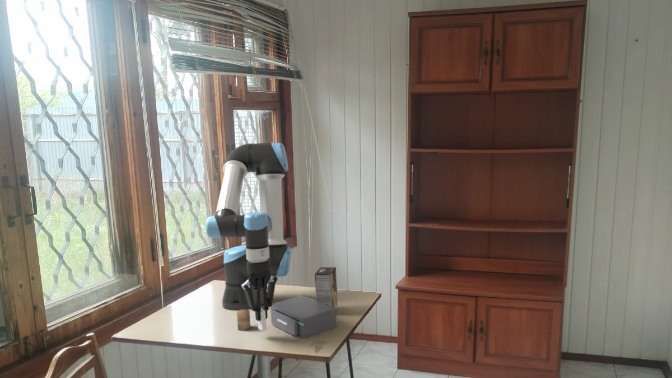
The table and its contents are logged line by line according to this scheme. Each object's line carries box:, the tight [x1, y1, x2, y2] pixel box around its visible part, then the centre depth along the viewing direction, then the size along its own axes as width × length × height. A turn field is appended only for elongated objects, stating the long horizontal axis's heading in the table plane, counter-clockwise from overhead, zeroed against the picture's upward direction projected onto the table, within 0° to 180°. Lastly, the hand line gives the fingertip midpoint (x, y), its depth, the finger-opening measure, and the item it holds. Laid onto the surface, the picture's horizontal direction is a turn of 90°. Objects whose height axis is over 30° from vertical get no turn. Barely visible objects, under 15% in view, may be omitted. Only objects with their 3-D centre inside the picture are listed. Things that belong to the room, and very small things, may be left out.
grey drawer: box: [271, 310, 299, 337], centre depth 173 cm, size 14×14×5 cm
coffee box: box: [314, 266, 339, 310], centre depth 186 cm, size 9×6×16 cm
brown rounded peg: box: [236, 309, 252, 332], centre depth 173 cm, size 4×4×6 cm
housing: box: [270, 294, 337, 339], centre depth 174 cm, size 20×14×7 cm
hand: (262, 328), depth 164 cm, fingers closed
